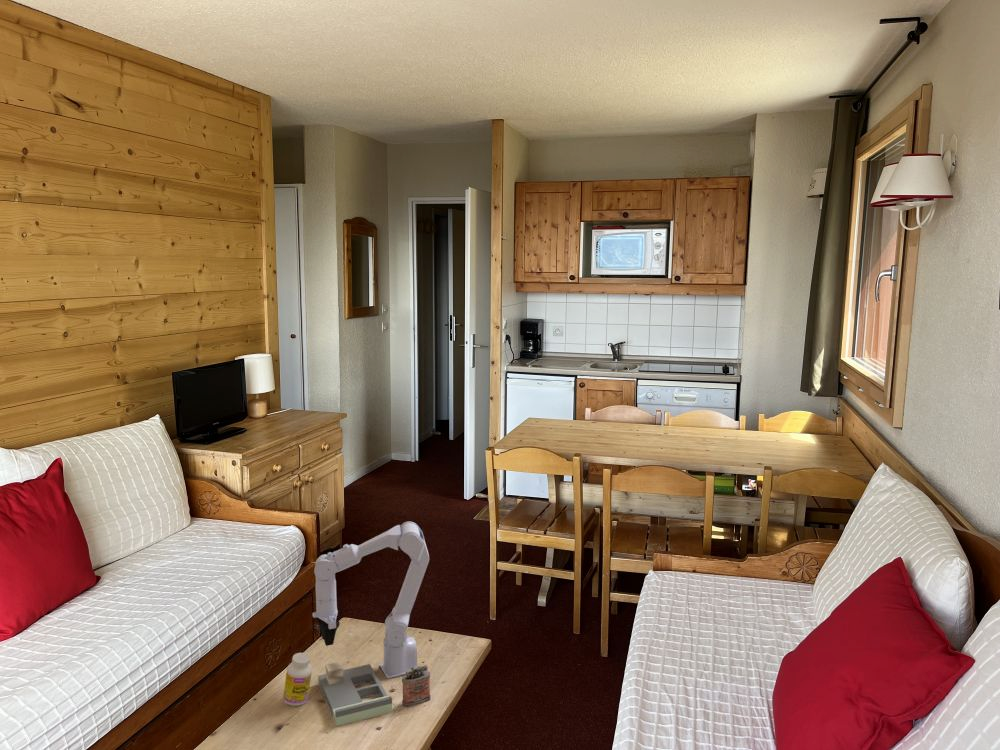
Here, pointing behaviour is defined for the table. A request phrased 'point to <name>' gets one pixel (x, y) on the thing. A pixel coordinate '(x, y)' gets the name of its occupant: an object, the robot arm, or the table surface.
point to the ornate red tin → (416, 686)
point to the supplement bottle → (298, 680)
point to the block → (334, 673)
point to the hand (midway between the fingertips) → (327, 641)
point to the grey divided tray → (355, 696)
